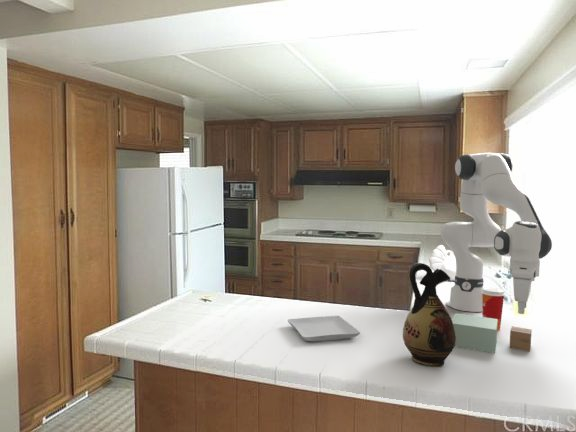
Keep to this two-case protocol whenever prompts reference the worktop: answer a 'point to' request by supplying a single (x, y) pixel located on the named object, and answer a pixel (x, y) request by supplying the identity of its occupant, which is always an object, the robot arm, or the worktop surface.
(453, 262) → the decorative rooster
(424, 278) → the ceramic jug
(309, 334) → the salad plate
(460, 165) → the robot arm
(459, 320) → the sage box
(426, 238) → the worktop surface
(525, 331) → the walnut block
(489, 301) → the coffee cup
